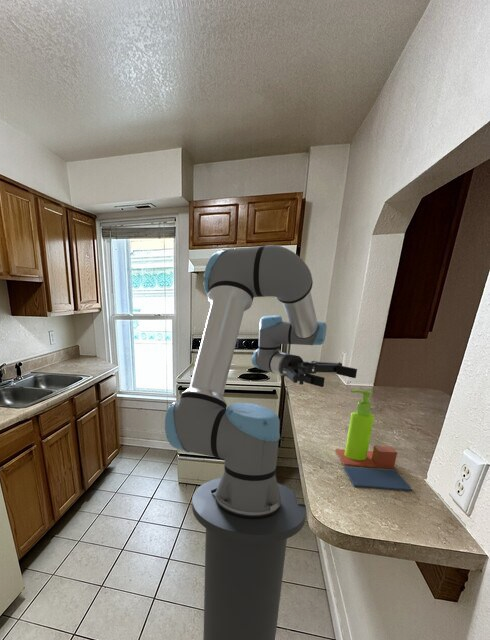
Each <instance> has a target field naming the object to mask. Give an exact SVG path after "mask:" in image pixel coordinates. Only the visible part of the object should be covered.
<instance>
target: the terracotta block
mask: <svg viewBox="0 0 490 640" xmlns="http://www.w3.org/2000/svg"><path fill="white" fill-rule="evenodd" d="M372 451H373V454H372V459H371V460H372V461H373V462H374V464H375V465H376V466H382V467H395V464H396V459H397V456H398V452H397V451H396V450H395V449H394V448H393V447H392V445H391V446H390V445H388V446H387V445H373V449H372Z"/></svg>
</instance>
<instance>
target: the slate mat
mask: <svg viewBox="0 0 490 640" xmlns="http://www.w3.org/2000/svg"><path fill="white" fill-rule="evenodd" d="M343 469H344V471H345V472H346V474H347V476H348V478H349V480H350V481H351V483H352V485H353V486H354V487H355V488H356V487H357V488H367V489H379V490H393V491H406V492H413V489H412V488H411V486H410V485H409V484H408V482H406V480H405V479H404V478H403V477H402V476H401V475H400V474H399V473H398V471H397V470H396V469H387V468H373V467H359V466H343Z"/></svg>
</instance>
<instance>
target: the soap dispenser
mask: <svg viewBox="0 0 490 640" xmlns="http://www.w3.org/2000/svg"><path fill="white" fill-rule="evenodd" d="M350 392H351V393H357V394H362V398H361V400H360V401H358V402H357V405H356V411H353V412H351V413H350V419H349V425H348V431H347V437H346V443H345V447H344V450H345V454H344V455H345V456H346V457H348V458H350V459H354V460H364V459H366V457H367V452H368V451H369V447H370V440H371V437H372V436H371V435H372V430H373V425H374V419H375V414H373V413H371V409H372V402H371V401H370V397H371V395H373V394H374V391H372V390H368V389H360V388H359V389H358V388H357V389H352V390H350Z"/></svg>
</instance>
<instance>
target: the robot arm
mask: <svg viewBox="0 0 490 640" xmlns="http://www.w3.org/2000/svg"><path fill="white" fill-rule="evenodd" d="M203 278H204V280H203V288H204V292H205V294H206V296H207V300H208V302H210V308H209V312H208V315H207V319H206V322H205V328H204V331H203V334H202V338H201V342H200V346H199V350H198V353H197V357H196V361H195V363H194V364H195V365H194V368H193V373H192V376H191V380H190V383H189V388H187V389H185V390H183V391H182V392H181V394H180V397H179V401H175V402H172V403H170V404H169V406H168V408H167V409H166V413H165V415H164V432H165V435H166V440H167V442H168V443H169V444H170V446H171V447H173V448H174V449H175V450H180V451H184V452H185V453H194V454H197V455H198V454H199V455H203V456H208V457H213V458H217V459H222V460H224V467H223V473H222V475H221V477H220V478H221V480H220V482H219V485H218V487H217V488H216V489H213V490H211V493H214V492H216V503H217V505H218V506H219V508H221V509H222V510H223V511H225V512H226V513H228V514H230V515H233V516H236V517H240V518H245V519H262V518H267V517H270V516H272V515H274V514H276V513H277V512H278V511H279V509H280V506H281V495H280V491H279V488H278V484H277V483H278V481H277V480H278V479H277V475H276V473H277V472H276V471H277V462H278V451H279V443H280V442H279V441H280V438H281V433H280V428H281V427H280V424H281V422H280V421H281V420H280V418H279V415H278V414H277V413H276V412H274V411H273V410H272V409H270V408H268V407H266V406H264V405H260V404H255V403H250V402H234V403H230V404H228V403H227V402H226V399H225V398H224V393H225V390H226V386H227V381H228V377H229V375H230V374H229V373H230V370H231V365H232V361H233V357H234V353H235V349H236V347H237V346H236V345H237V341H238V337H239V333H240V329H241V325H242V321H243V317H244V314H245V311H247V310H248V311H249V309H250V308H251V307H252V305H253V301H254V298H257V297H258V298H263V297H275V298H276V299H277V301H279V302H280V303H281V304H282V305H283V308H284V310H285V313H286V315H287V318H288V320H289V321H284V320H283V317H282V316H281V315H277V314H276V315H273V314H272V315H263V316H262V317H261V318H260V320H259V326H258V327H259V328H258V348H257V349H256V350H254V351H253V353H252V356H251V364H252V365H253V367H255V368H256V369H259V370H261V371H264V372H265V371H266V372H269V373H272V374H277V375H279V376H280V377H282V376H283V377H286V378H287V379H288V380H290V381H291V382H292V383H294V384H297V383H298V384H299V385H304V383H306V384H309V385H312V386H316V387H320V388H324V386H325V377H324V376H320V375H316V374H317V373H327V374H329V373H330V374H331V373H332V374H335V375H339V376H343V377H348V378H351V379H356V378H357V372H358V368H354V367H350V366H345V365H343V363H342V362H341V361H338V362H328V361H317V360H311V362H309V361H304V359H303V358H302V357H301V356H299V355H296V354H291V353H288V352H287V353H286V352H282V351H280V350H281V349H280V348H281V345H297V346H298V345H299V346H300V345H301V346H322V345H323V344H324V343H325V341H326V336H327V323H326V322H324V321H320V320H319V321H318V319H317V315H316V310H315V306H314V301H313V296H312V292H311V291H312V289H313V284H314V283H313V282H314V281H313V275H312V273H311V270H310V268H309V266H308V265H307V264H306V262H305V261H304V260H303V259H302V258H301V257H300V256H299V255H298V254H296V253H295V252H294V251H292V250H291V249H288V248H287V247H285V246H282V245H277V244H267V245H259V246H252V247H251V246H249V247H241V248H227V249H223V250H218V251H216V252H214V253H213V254H212V255H211V256H210V257H209V259H208V261H207V263H206V265H205V268H204V272H203Z"/></svg>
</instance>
